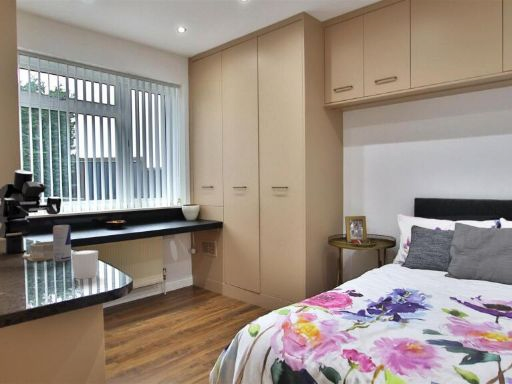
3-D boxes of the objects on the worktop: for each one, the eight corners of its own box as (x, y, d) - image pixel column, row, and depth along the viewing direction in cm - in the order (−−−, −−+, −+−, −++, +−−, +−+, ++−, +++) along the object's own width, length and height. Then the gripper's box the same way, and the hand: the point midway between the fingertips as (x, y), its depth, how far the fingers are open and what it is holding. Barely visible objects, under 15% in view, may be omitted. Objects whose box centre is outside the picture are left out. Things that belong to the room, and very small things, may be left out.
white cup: (71, 280, 96) (71, 255, 96) (71, 275, 102) (71, 251, 102) (99, 277, 99) (99, 252, 99) (97, 272, 106) (97, 248, 105)
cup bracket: (22, 257, 128) (22, 243, 128) (55, 253, 136) (55, 240, 136) (33, 261, 121) (33, 247, 121) (67, 256, 129) (67, 243, 129)
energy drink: (74, 258, 126) (73, 224, 126) (64, 261, 121) (64, 226, 120) (60, 258, 126) (59, 224, 126) (49, 261, 121) (49, 226, 121)
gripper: (-4, 179, 123) (14, 192, 114) (53, 179, 138) (72, 191, 129) (-7, 209, 125) (11, 224, 116) (49, 206, 140) (68, 220, 132)
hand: (42, 213), depth 123 cm, fingers open, 9 cm apart
